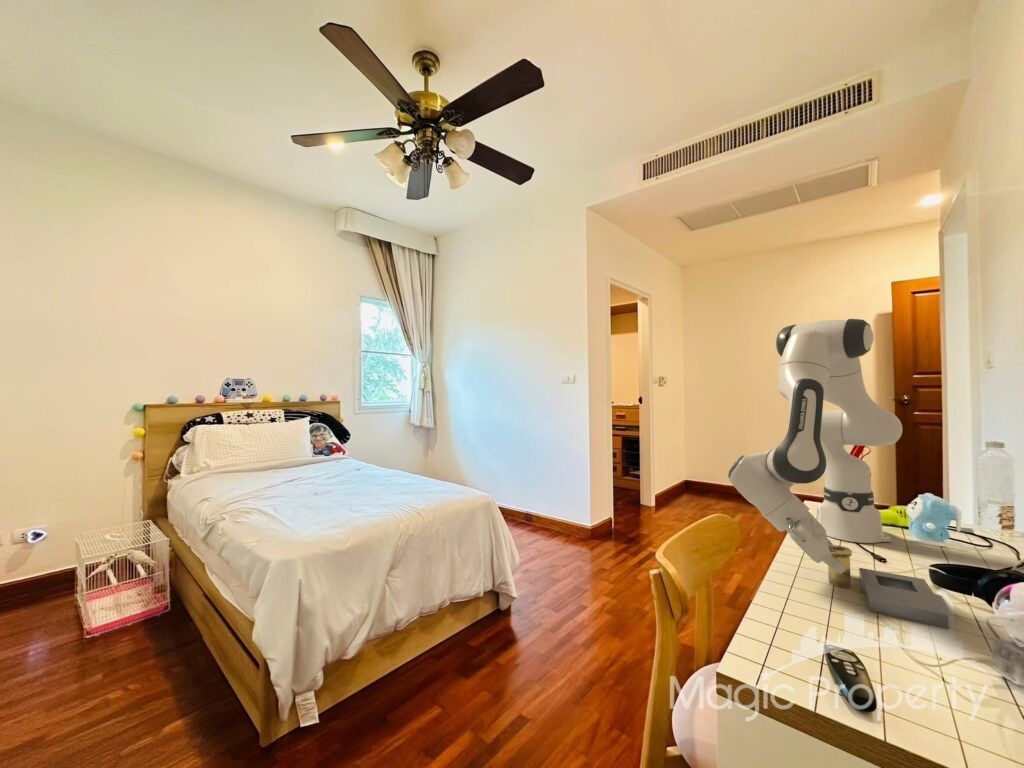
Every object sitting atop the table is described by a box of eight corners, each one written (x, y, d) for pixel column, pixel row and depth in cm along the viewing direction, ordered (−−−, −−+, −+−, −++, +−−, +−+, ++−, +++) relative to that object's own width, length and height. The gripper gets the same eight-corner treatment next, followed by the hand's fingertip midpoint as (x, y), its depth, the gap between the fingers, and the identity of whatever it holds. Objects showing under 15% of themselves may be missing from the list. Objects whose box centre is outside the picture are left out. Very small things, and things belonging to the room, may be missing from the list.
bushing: (826, 577, 97) (824, 543, 97) (852, 582, 94) (850, 547, 95) (827, 585, 93) (825, 549, 93) (854, 590, 90) (852, 553, 91)
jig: (859, 578, 96) (859, 567, 96) (924, 590, 90) (924, 579, 90) (869, 611, 82) (869, 598, 82) (948, 628, 75) (948, 615, 75)
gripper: (798, 516, 90) (858, 572, 84) (799, 497, 107) (849, 542, 101) (775, 533, 92) (831, 588, 86) (779, 512, 109) (826, 557, 103)
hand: (841, 563), depth 94 cm, fingers open, 8 cm apart
